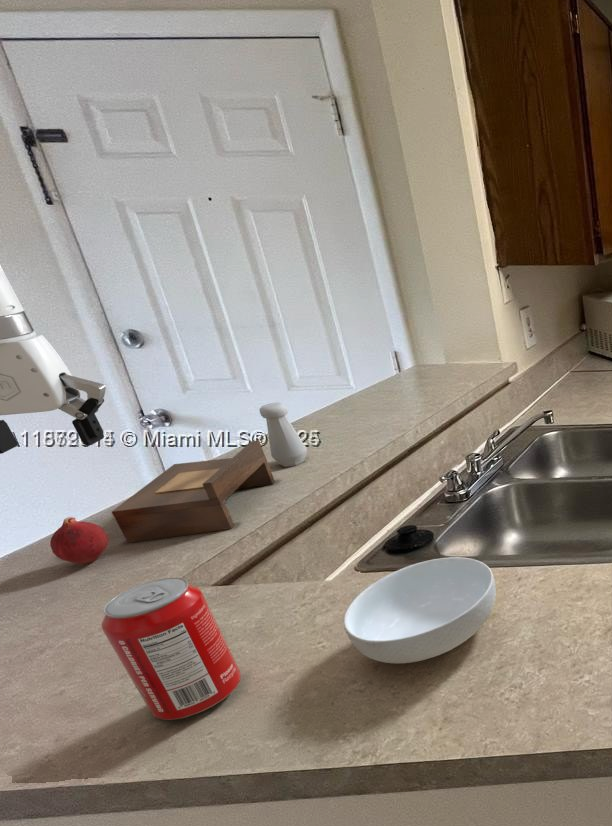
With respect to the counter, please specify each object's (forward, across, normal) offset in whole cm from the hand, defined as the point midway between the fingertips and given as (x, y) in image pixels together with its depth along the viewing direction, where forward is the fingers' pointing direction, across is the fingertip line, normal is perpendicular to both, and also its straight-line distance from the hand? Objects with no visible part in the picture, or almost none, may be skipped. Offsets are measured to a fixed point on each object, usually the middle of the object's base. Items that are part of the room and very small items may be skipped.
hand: (51, 445), depth 88 cm
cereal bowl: (+20, +51, -34) cm, 65 cm away
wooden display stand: (+20, +6, +14) cm, 25 cm away
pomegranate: (+20, -3, 0) cm, 20 cm away
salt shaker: (+20, +13, +32) cm, 40 cm away
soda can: (+20, +27, -37) cm, 50 cm away
